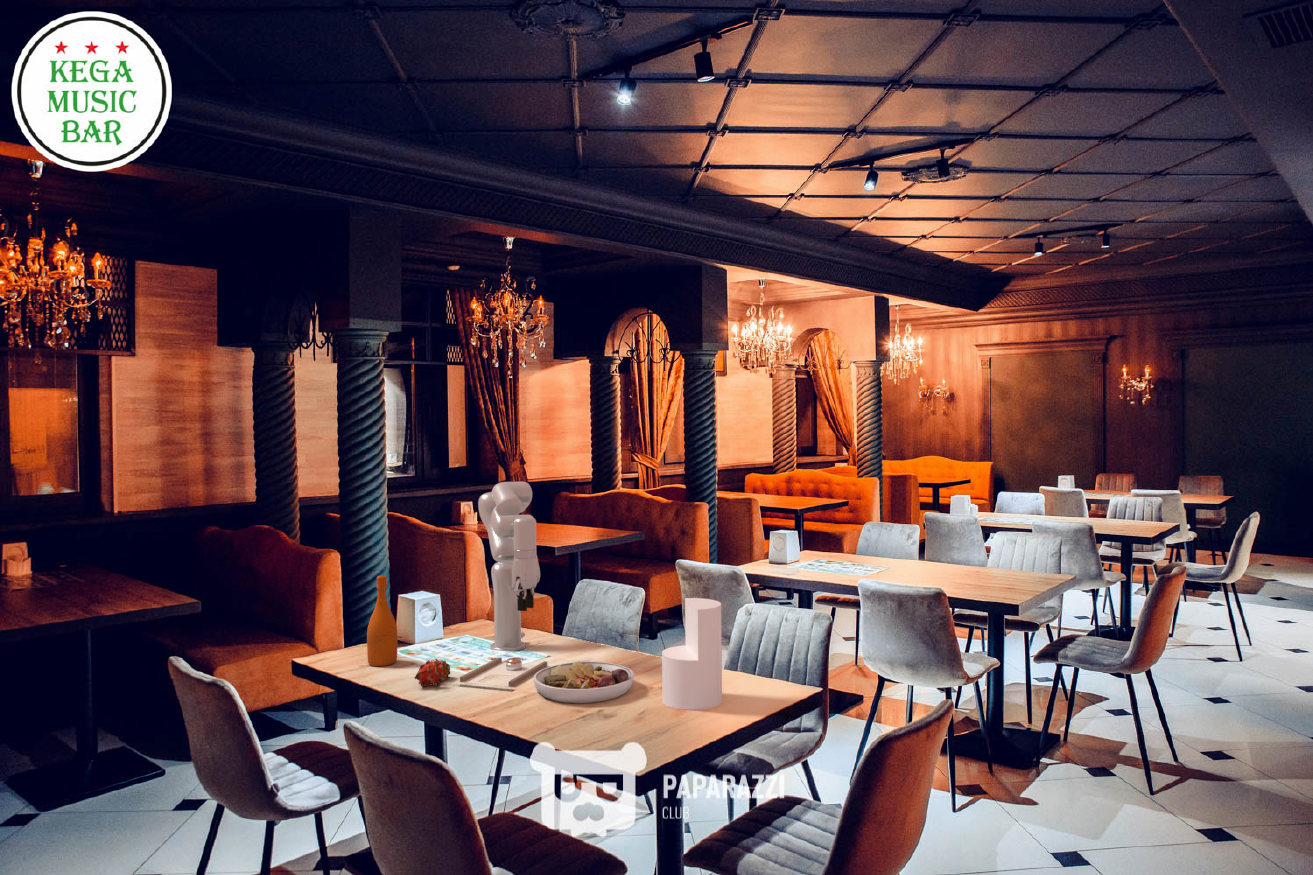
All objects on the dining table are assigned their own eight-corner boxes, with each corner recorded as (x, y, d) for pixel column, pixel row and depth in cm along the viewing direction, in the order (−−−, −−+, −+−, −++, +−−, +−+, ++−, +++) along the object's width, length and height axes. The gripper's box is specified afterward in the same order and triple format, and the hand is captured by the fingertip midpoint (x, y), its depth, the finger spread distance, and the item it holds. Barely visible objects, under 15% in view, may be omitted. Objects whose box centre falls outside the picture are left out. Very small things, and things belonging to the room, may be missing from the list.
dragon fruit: (454, 686, 268) (418, 699, 261) (443, 666, 273) (407, 678, 266) (458, 668, 264) (421, 681, 256) (446, 648, 268) (410, 660, 261)
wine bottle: (403, 661, 292) (402, 574, 292) (380, 668, 284) (379, 578, 284) (384, 658, 297) (383, 572, 297) (361, 664, 289) (360, 576, 289)
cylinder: (714, 689, 257) (713, 596, 257) (728, 707, 240) (727, 608, 240) (657, 693, 254) (656, 599, 254) (668, 711, 237) (667, 611, 237)
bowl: (515, 700, 249) (515, 673, 249) (561, 673, 277) (561, 649, 277) (610, 711, 239) (609, 683, 239) (648, 681, 267) (647, 656, 267)
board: (498, 666, 285) (498, 657, 285) (547, 670, 280) (547, 661, 279) (459, 686, 263) (459, 676, 262) (512, 691, 257) (512, 681, 257)
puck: (510, 666, 280) (510, 656, 280) (524, 667, 278) (524, 658, 278) (503, 670, 275) (503, 660, 275) (517, 671, 274) (517, 662, 274)
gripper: (526, 550, 294) (527, 603, 294) (502, 557, 278) (503, 613, 278) (546, 551, 291) (546, 605, 291) (523, 558, 275) (524, 615, 276)
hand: (525, 608), depth 285 cm, fingers open, 4 cm apart
